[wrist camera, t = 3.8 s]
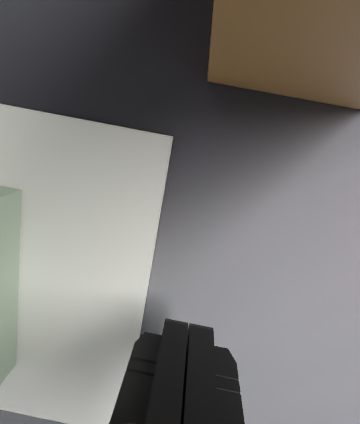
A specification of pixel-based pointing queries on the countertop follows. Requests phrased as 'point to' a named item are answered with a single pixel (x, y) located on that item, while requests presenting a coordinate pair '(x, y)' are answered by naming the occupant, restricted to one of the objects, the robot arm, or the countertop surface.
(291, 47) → the reagent bottle
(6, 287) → the sage block
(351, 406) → the countertop surface
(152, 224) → the letter
